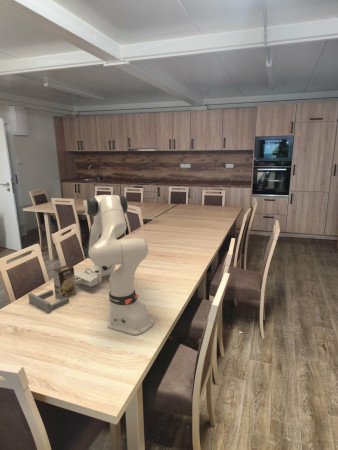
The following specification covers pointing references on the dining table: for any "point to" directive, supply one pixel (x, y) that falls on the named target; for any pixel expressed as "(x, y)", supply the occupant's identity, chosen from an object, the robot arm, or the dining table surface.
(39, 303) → the grey u-shaped bracket
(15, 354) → the dining table surface
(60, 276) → the coffee box
